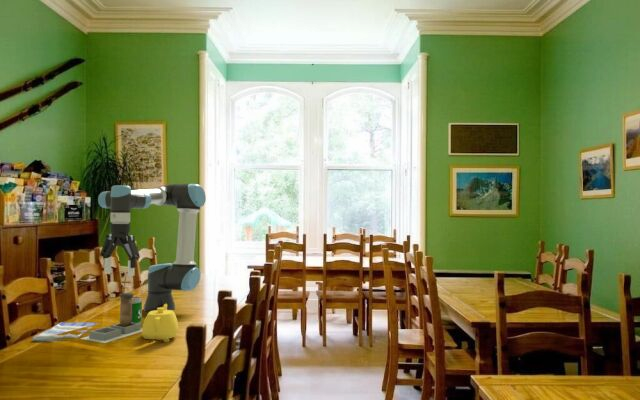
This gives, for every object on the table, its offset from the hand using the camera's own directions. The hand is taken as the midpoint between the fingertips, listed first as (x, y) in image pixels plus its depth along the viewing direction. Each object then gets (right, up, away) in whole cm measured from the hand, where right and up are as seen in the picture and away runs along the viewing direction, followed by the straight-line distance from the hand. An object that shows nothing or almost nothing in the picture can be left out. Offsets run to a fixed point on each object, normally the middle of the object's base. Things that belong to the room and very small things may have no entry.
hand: (119, 275), depth 186 cm
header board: (0, -24, -4) cm, 24 cm away
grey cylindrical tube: (+2, -23, +1) cm, 23 cm away
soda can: (0, -25, +14) cm, 28 cm away
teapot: (+19, -25, -6) cm, 32 cm away
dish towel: (-21, -25, 0) cm, 32 cm away
